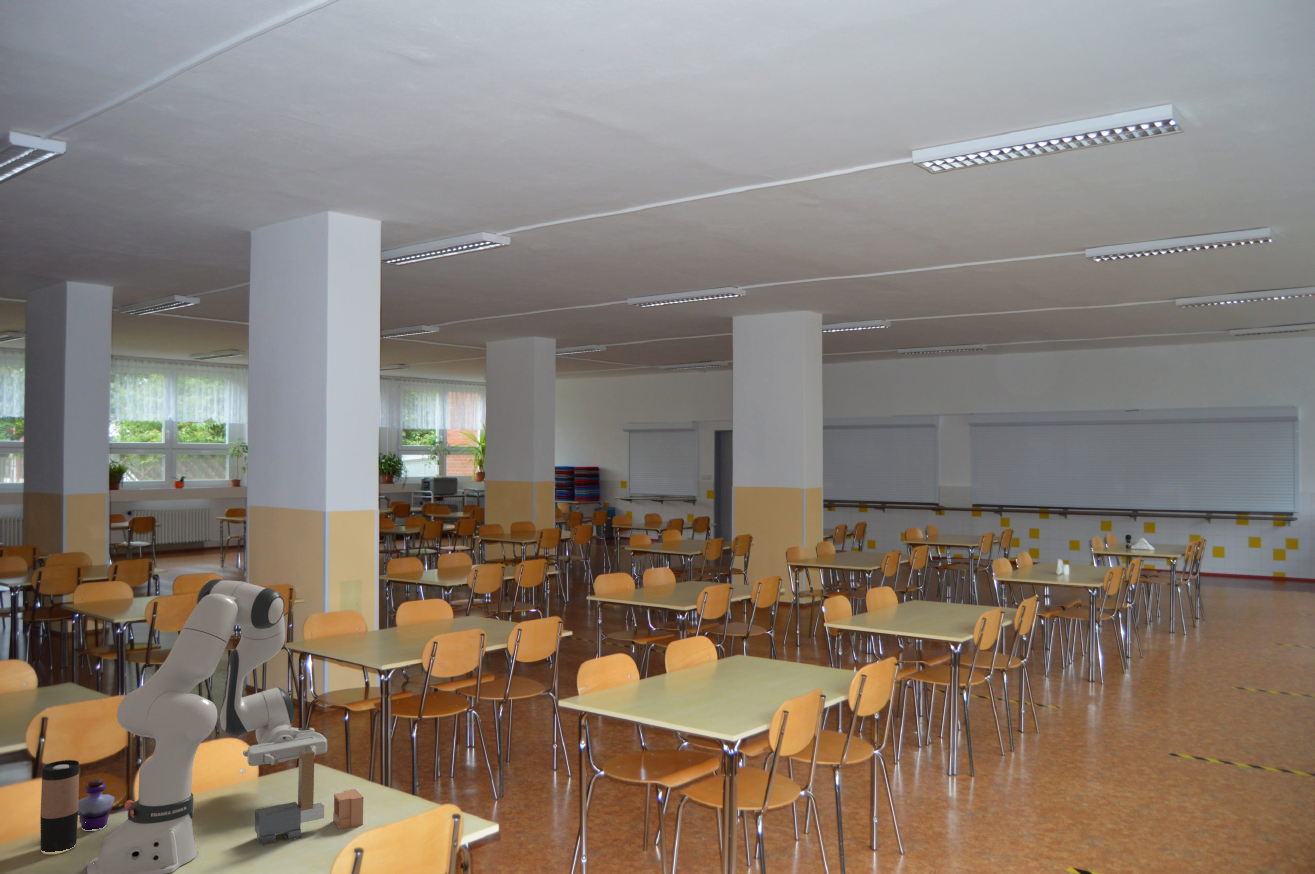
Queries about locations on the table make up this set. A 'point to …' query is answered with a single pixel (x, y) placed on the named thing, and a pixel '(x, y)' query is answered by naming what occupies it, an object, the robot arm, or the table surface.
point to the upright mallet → (308, 788)
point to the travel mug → (59, 805)
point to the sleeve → (278, 822)
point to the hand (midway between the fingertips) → (294, 758)
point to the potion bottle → (95, 806)
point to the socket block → (348, 809)
